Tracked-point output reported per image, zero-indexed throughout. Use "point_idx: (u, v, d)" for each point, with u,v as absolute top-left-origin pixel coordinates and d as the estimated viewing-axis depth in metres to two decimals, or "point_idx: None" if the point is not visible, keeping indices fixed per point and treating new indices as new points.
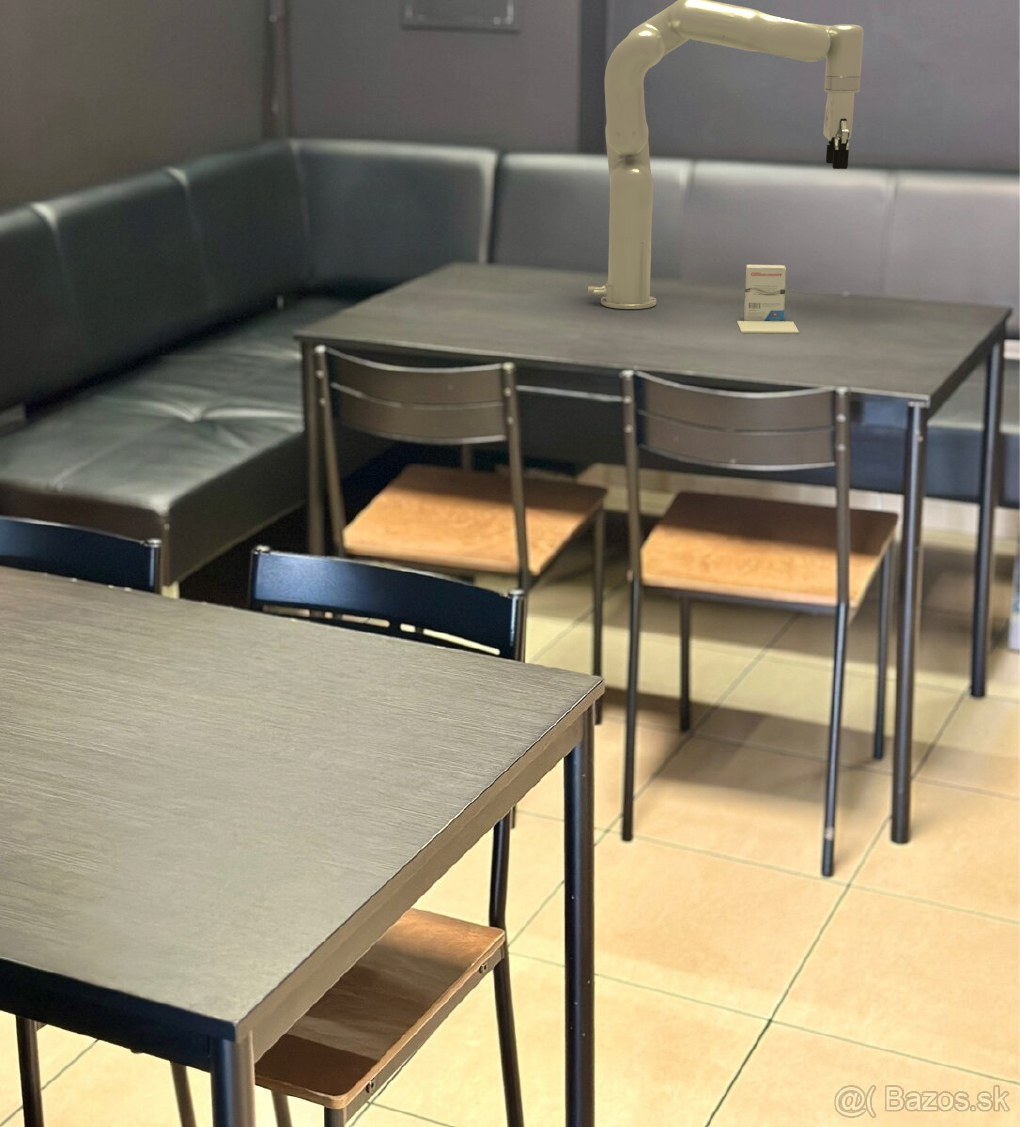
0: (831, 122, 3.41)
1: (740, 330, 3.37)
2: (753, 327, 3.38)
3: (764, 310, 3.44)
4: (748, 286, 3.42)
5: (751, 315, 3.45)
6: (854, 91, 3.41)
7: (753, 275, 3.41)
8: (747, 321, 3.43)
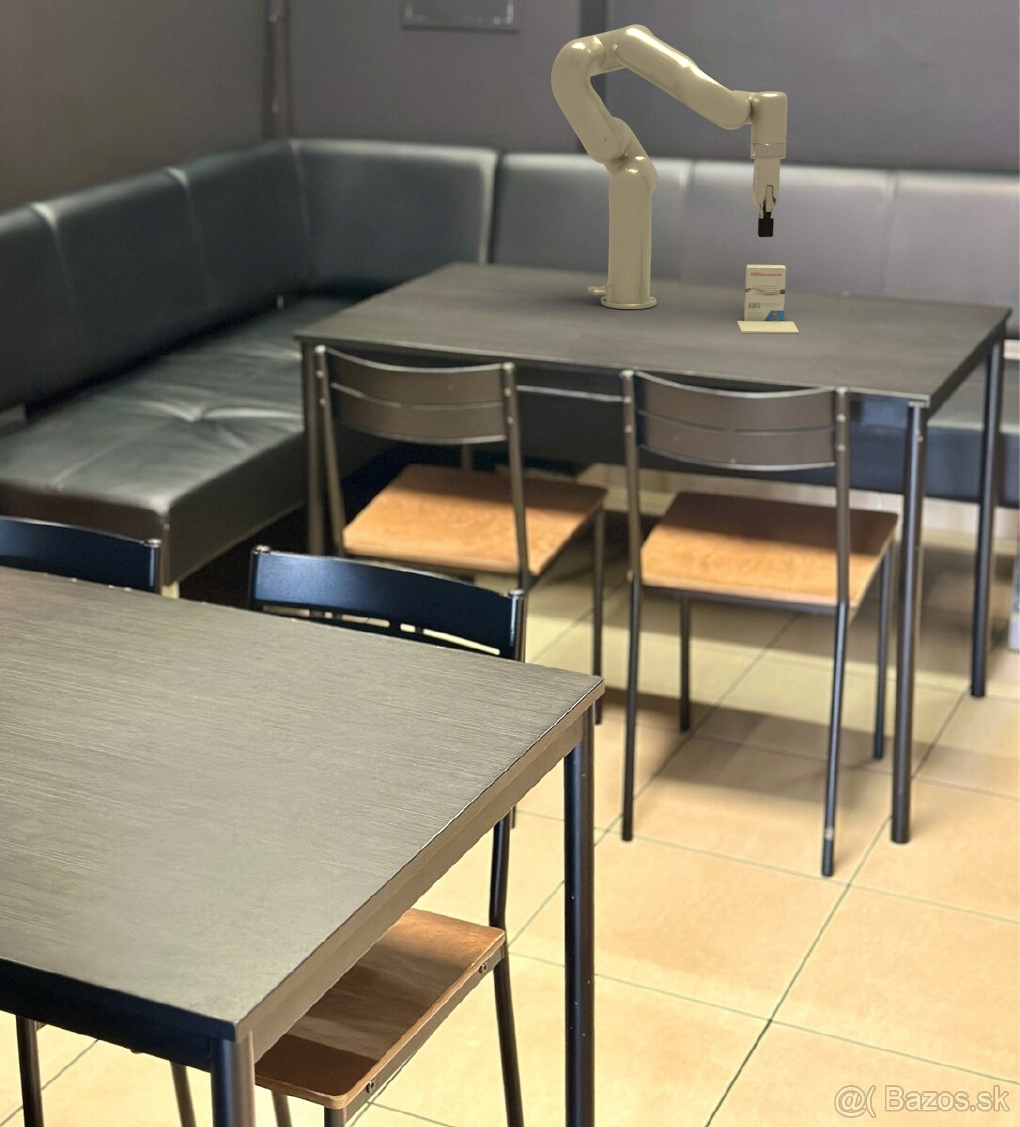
0: (757, 188, 3.42)
1: (740, 330, 3.37)
2: (753, 327, 3.38)
3: (764, 310, 3.44)
4: (748, 286, 3.42)
5: (751, 315, 3.45)
6: (780, 157, 3.41)
7: (753, 275, 3.41)
8: (747, 321, 3.43)
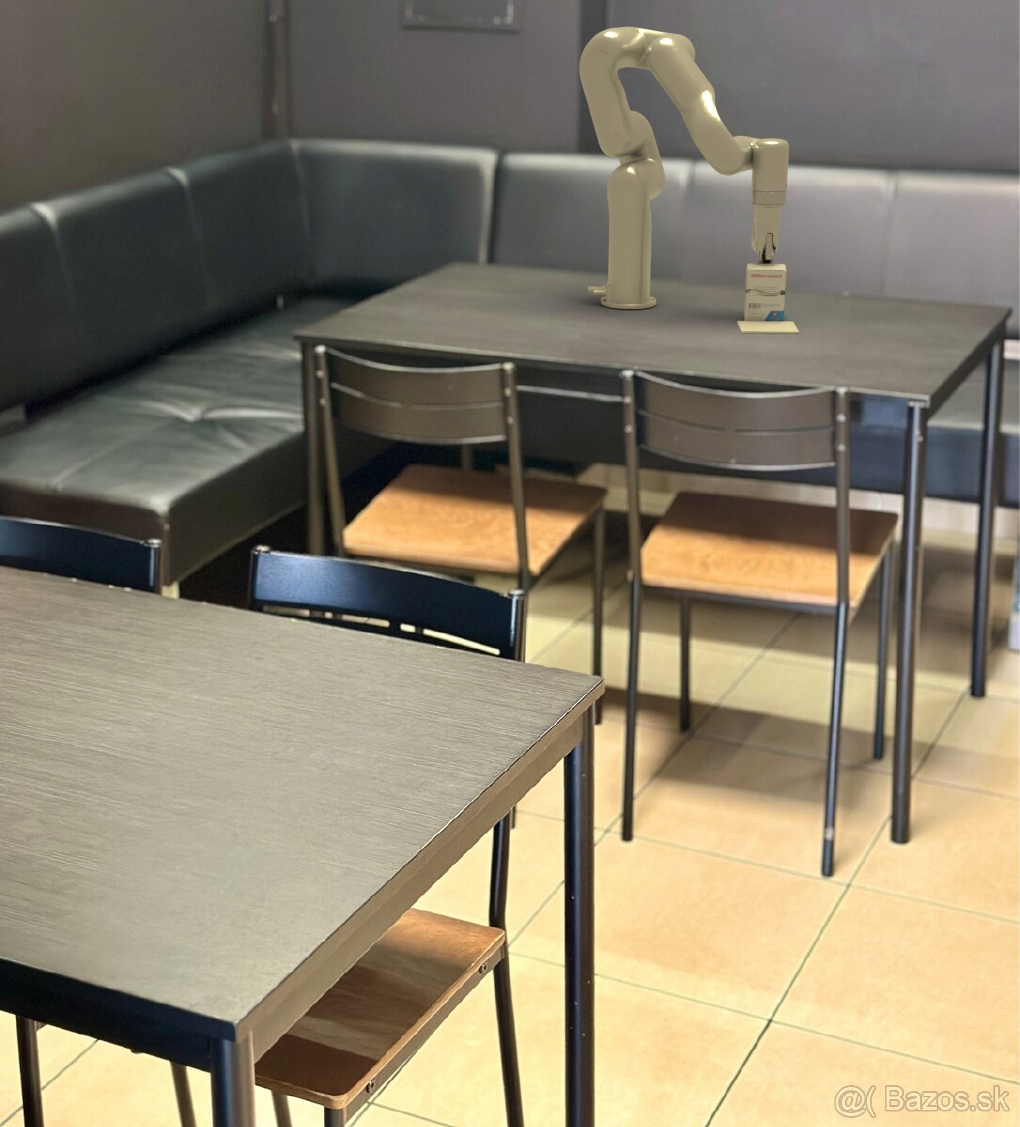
0: (757, 236, 3.40)
1: (740, 330, 3.37)
2: (753, 327, 3.38)
3: (764, 311, 3.43)
4: (748, 287, 3.42)
5: (751, 315, 3.44)
6: (780, 205, 3.39)
7: (753, 276, 3.40)
8: (747, 321, 3.43)
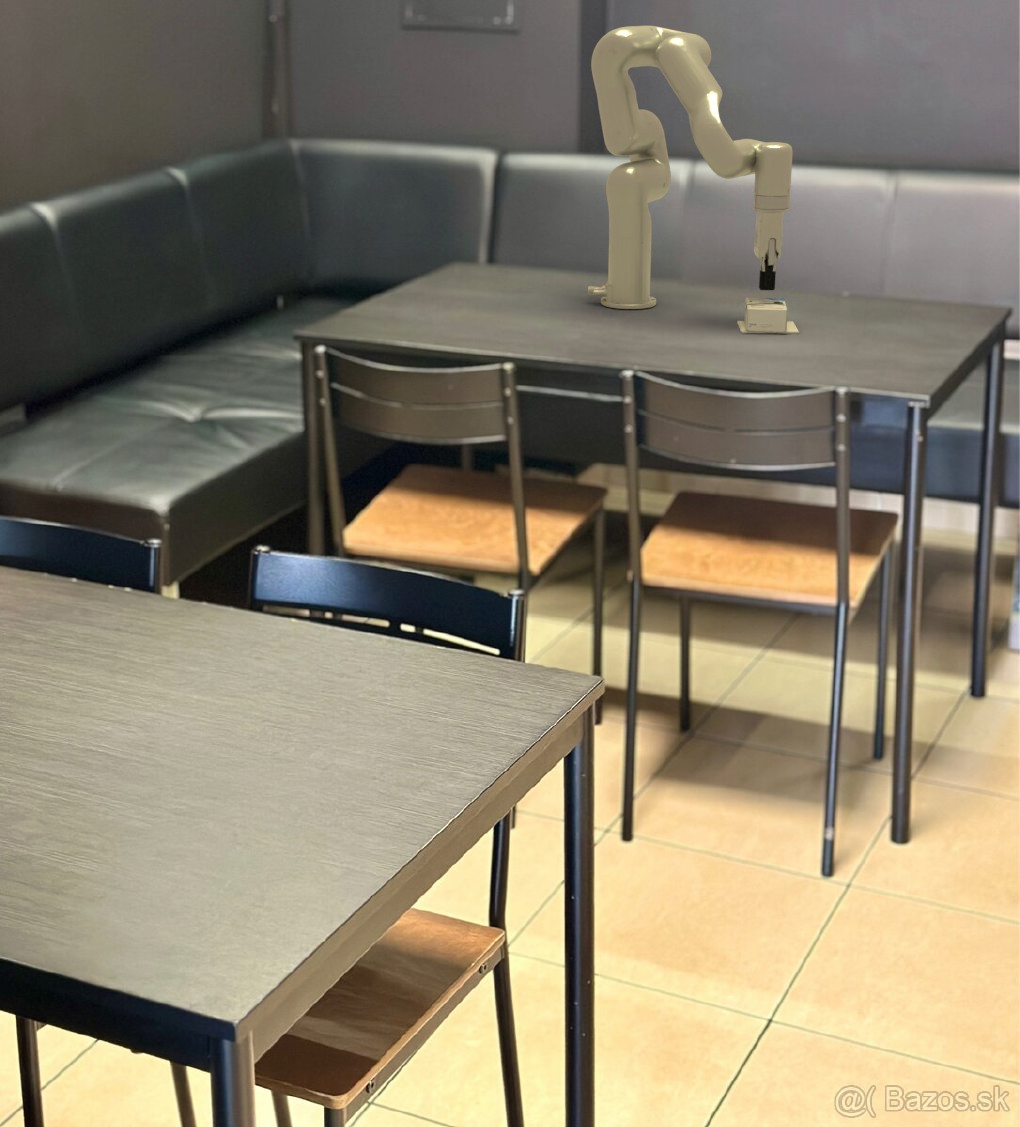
0: (760, 241, 3.34)
1: (740, 330, 3.37)
2: None
3: None
4: None
5: None
6: (783, 210, 3.33)
7: None
8: None
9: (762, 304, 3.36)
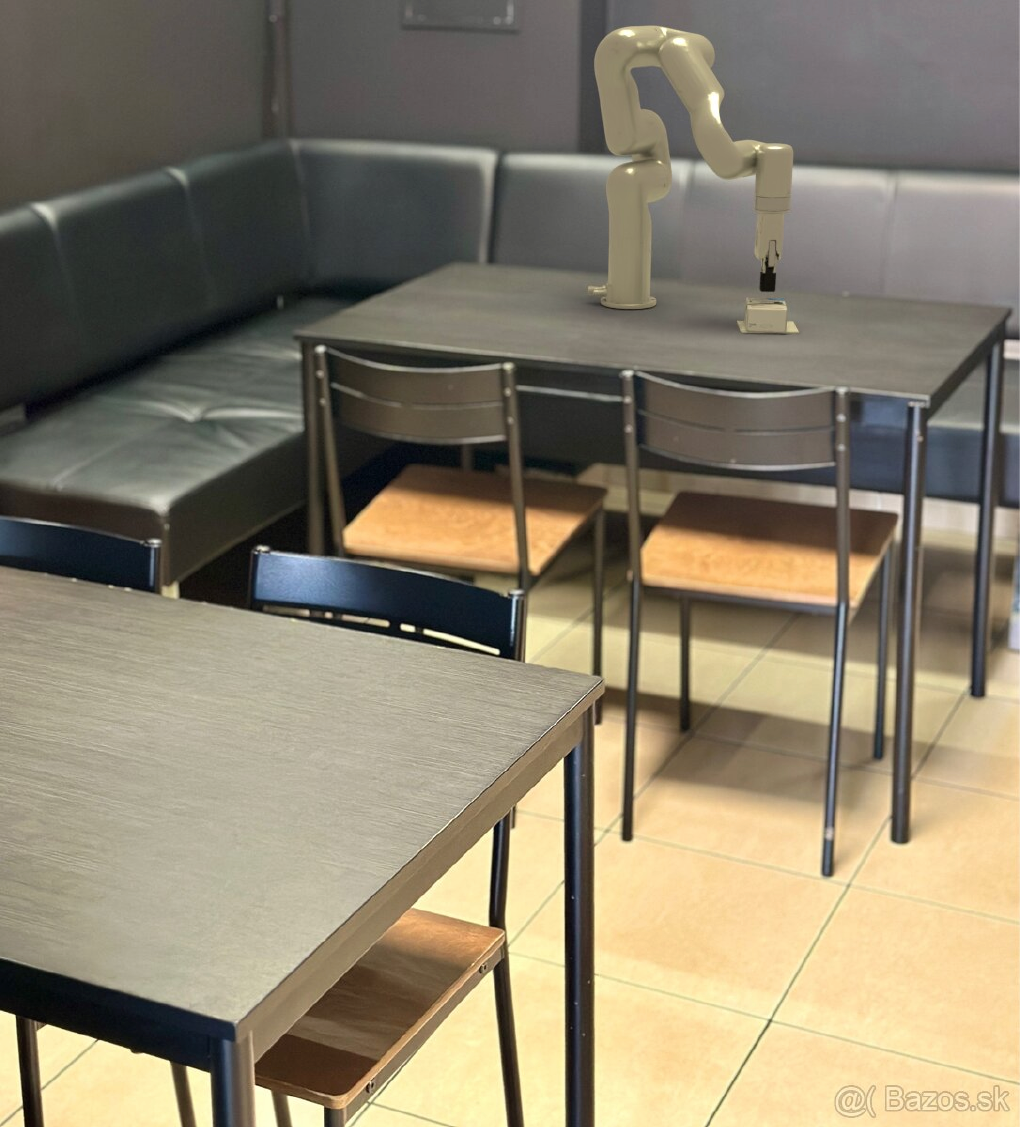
0: (760, 243, 3.33)
1: (740, 330, 3.37)
2: None
3: None
4: None
5: None
6: (784, 212, 3.32)
7: None
8: None
9: (762, 304, 3.36)
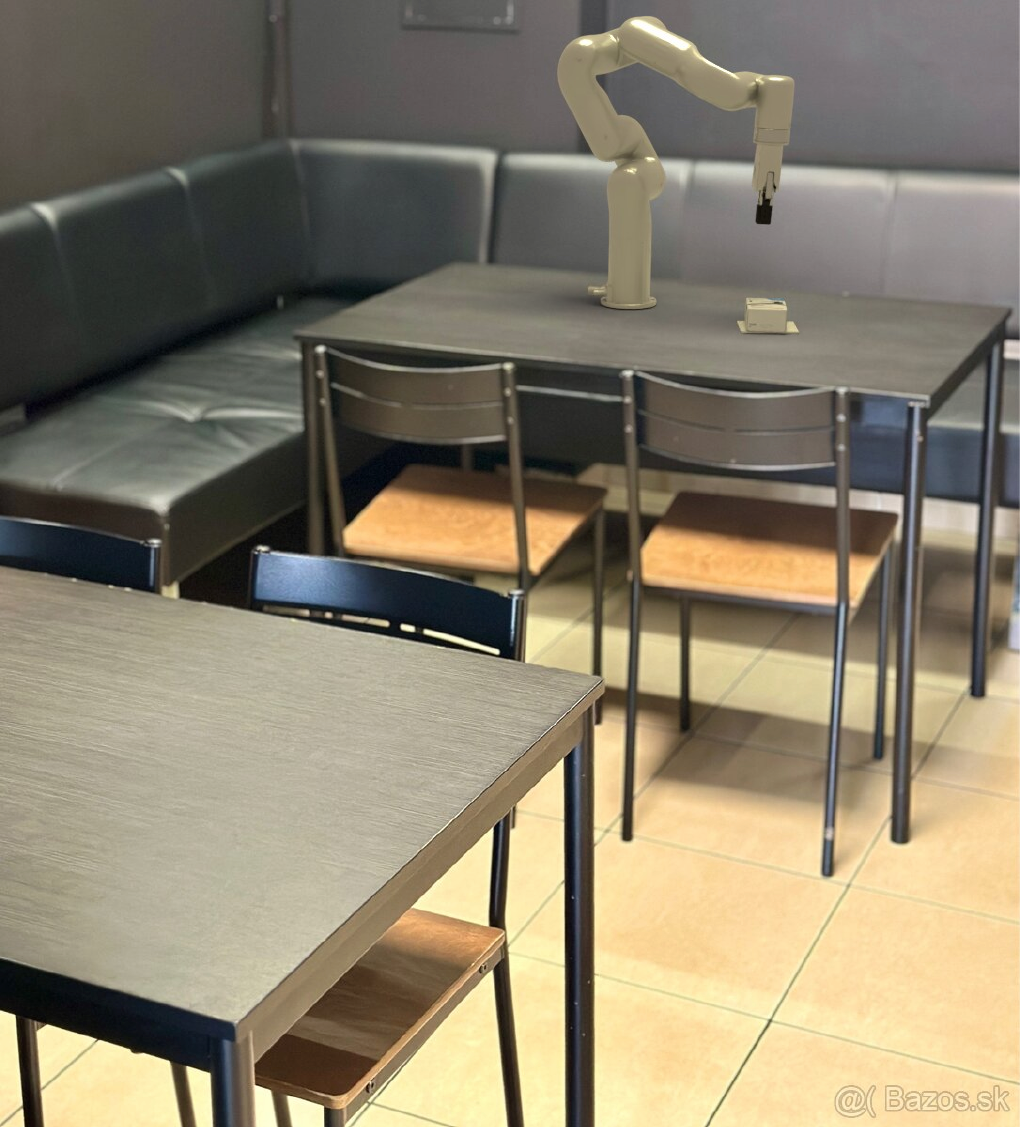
0: (758, 174, 3.34)
1: (740, 330, 3.37)
2: None
3: None
4: None
5: None
6: (783, 144, 3.34)
7: None
8: None
9: (762, 304, 3.36)
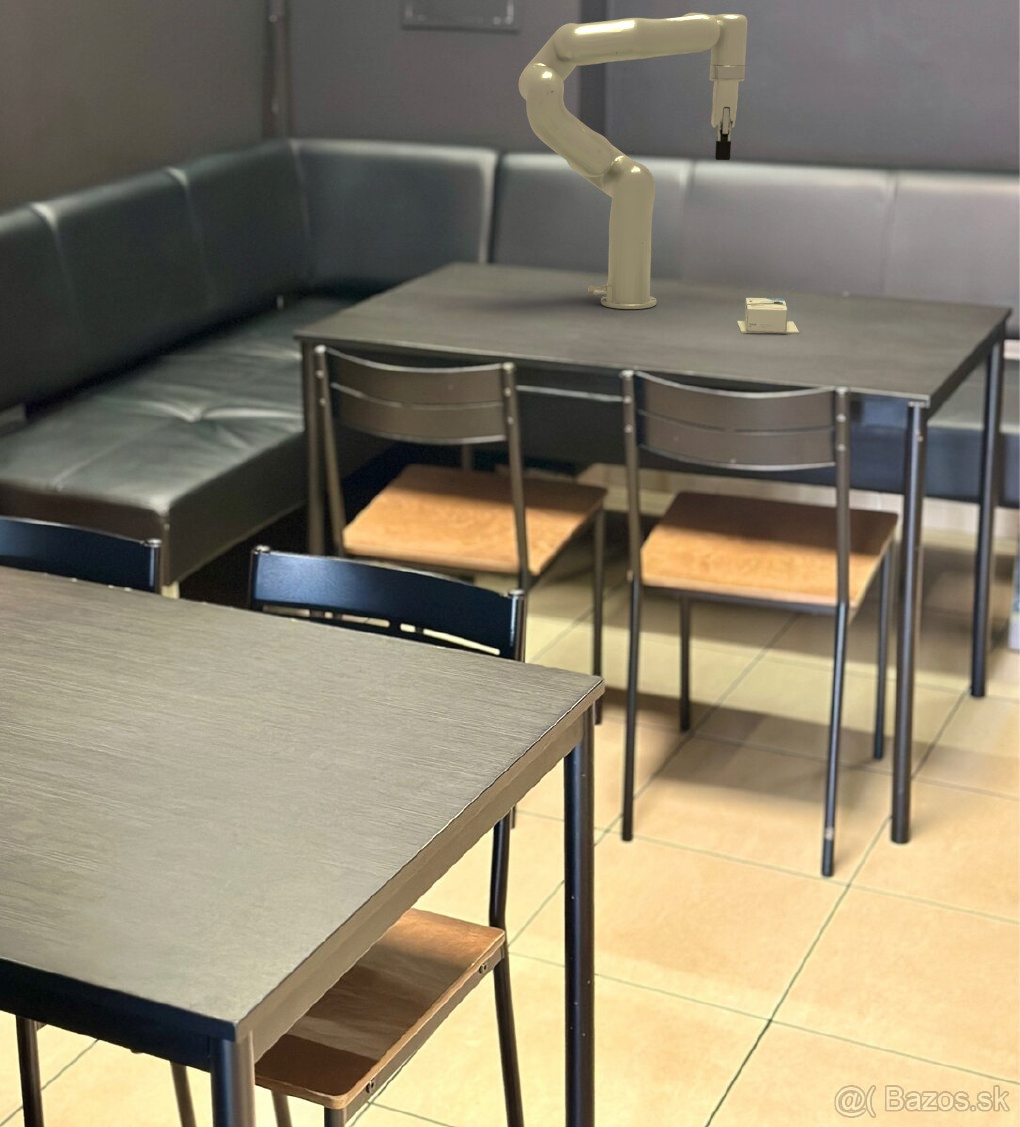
0: (714, 110, 3.46)
1: (740, 330, 3.37)
2: None
3: None
4: None
5: None
6: (738, 80, 3.45)
7: None
8: None
9: (762, 304, 3.36)
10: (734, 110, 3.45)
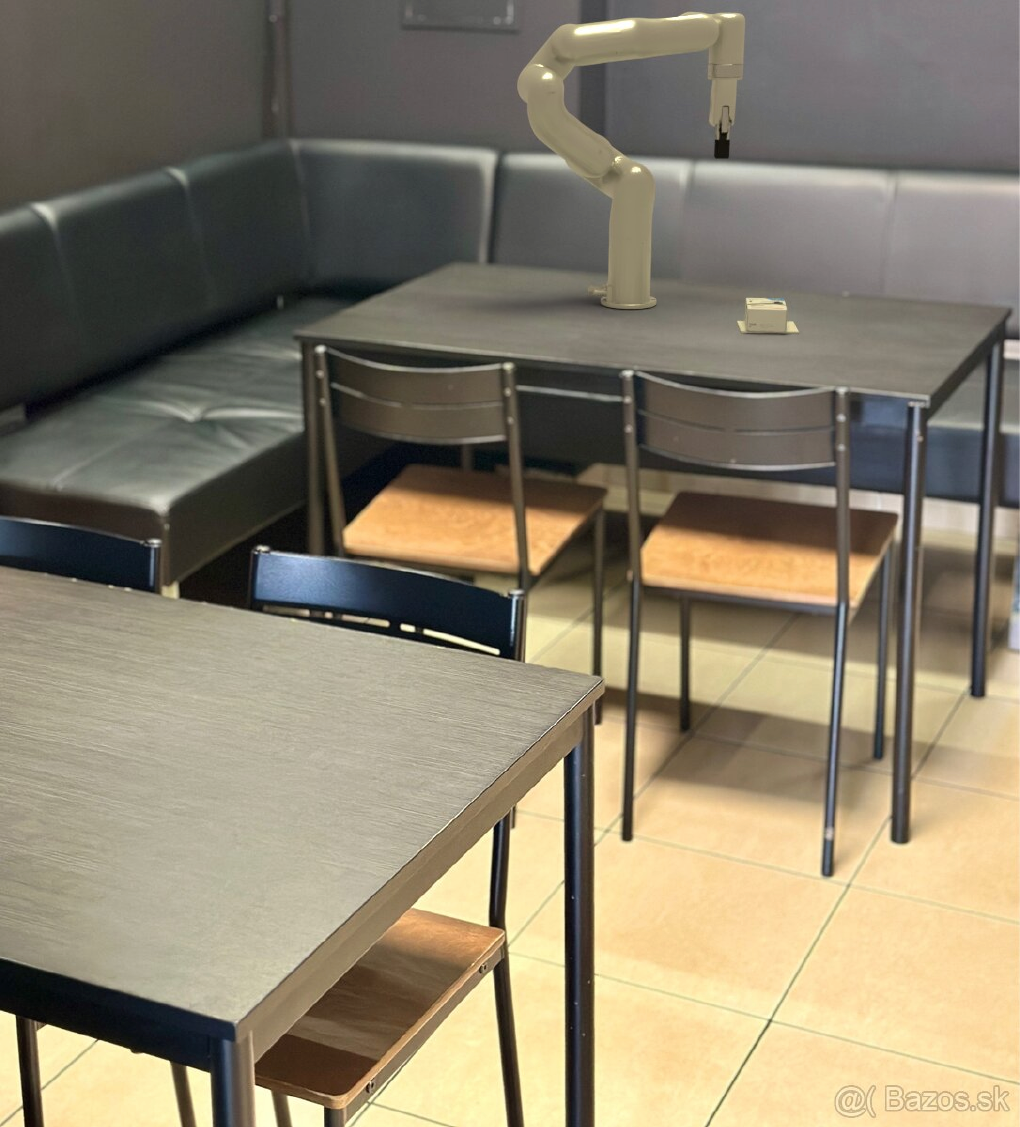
0: (713, 108, 3.46)
1: (740, 330, 3.37)
2: None
3: None
4: None
5: None
6: (736, 78, 3.45)
7: None
8: None
9: (762, 304, 3.36)
10: (733, 109, 3.46)
